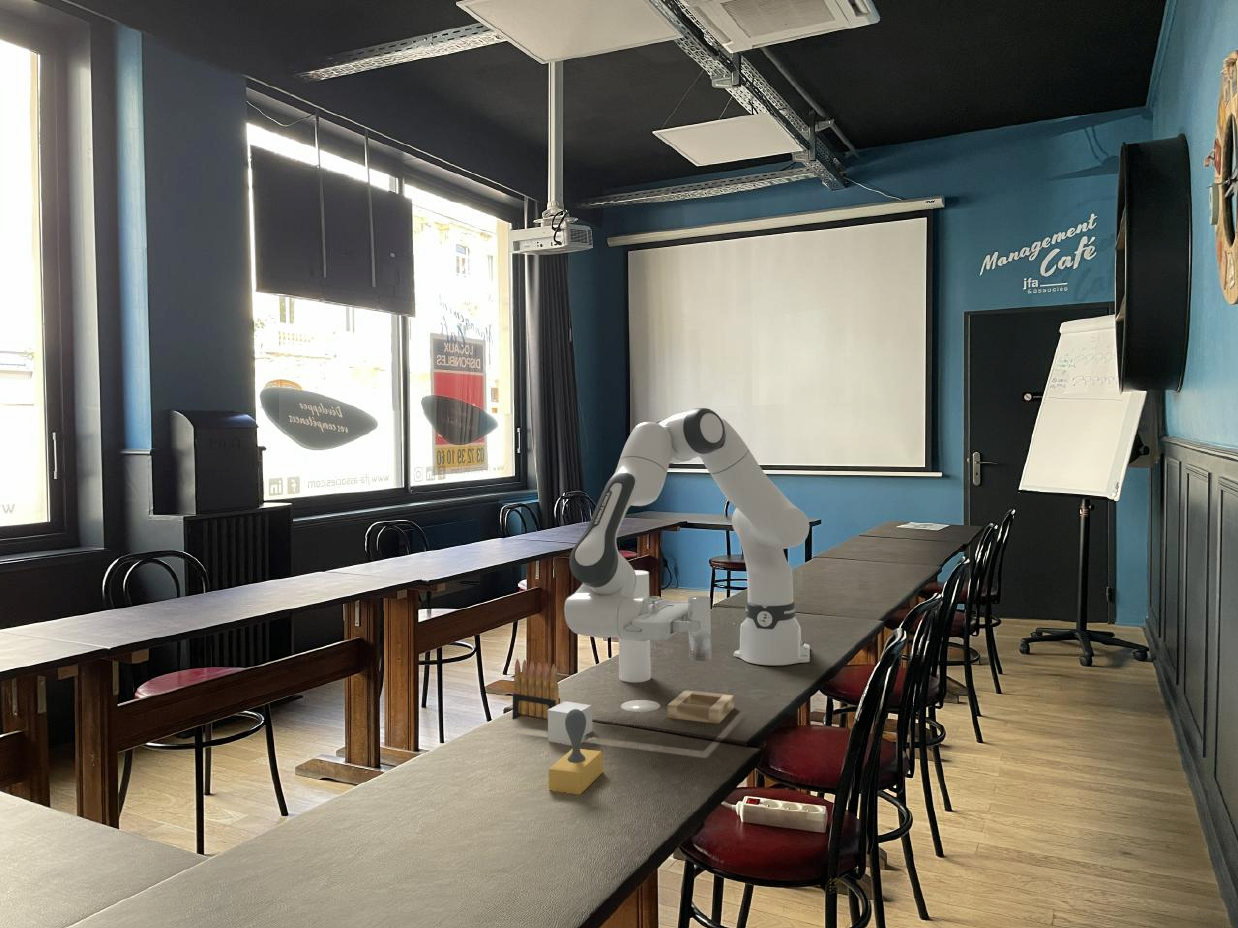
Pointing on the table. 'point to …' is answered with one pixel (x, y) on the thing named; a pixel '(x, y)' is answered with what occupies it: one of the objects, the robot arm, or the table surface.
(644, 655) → the cylindrical container
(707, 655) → the clear glass tube
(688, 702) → the beige wooden square frame
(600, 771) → the rubber stamp
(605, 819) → the table surface
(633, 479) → the robot arm
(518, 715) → the ammunition clip
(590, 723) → the light grey cube
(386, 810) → the table surface
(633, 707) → the stand disc
